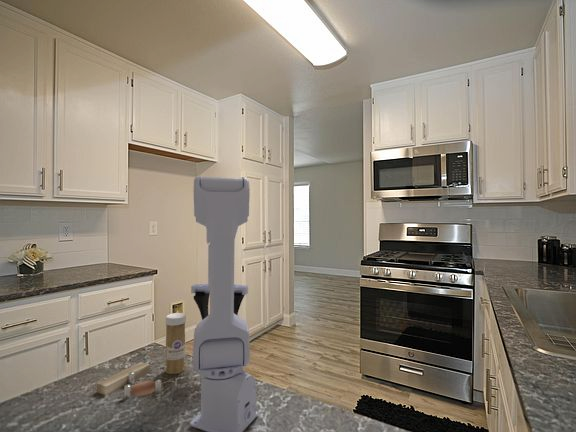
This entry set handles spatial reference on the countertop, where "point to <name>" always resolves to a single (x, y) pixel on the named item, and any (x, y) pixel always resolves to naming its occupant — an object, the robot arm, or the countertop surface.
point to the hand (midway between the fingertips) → (219, 321)
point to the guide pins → (131, 381)
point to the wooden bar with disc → (122, 380)
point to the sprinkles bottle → (175, 343)
